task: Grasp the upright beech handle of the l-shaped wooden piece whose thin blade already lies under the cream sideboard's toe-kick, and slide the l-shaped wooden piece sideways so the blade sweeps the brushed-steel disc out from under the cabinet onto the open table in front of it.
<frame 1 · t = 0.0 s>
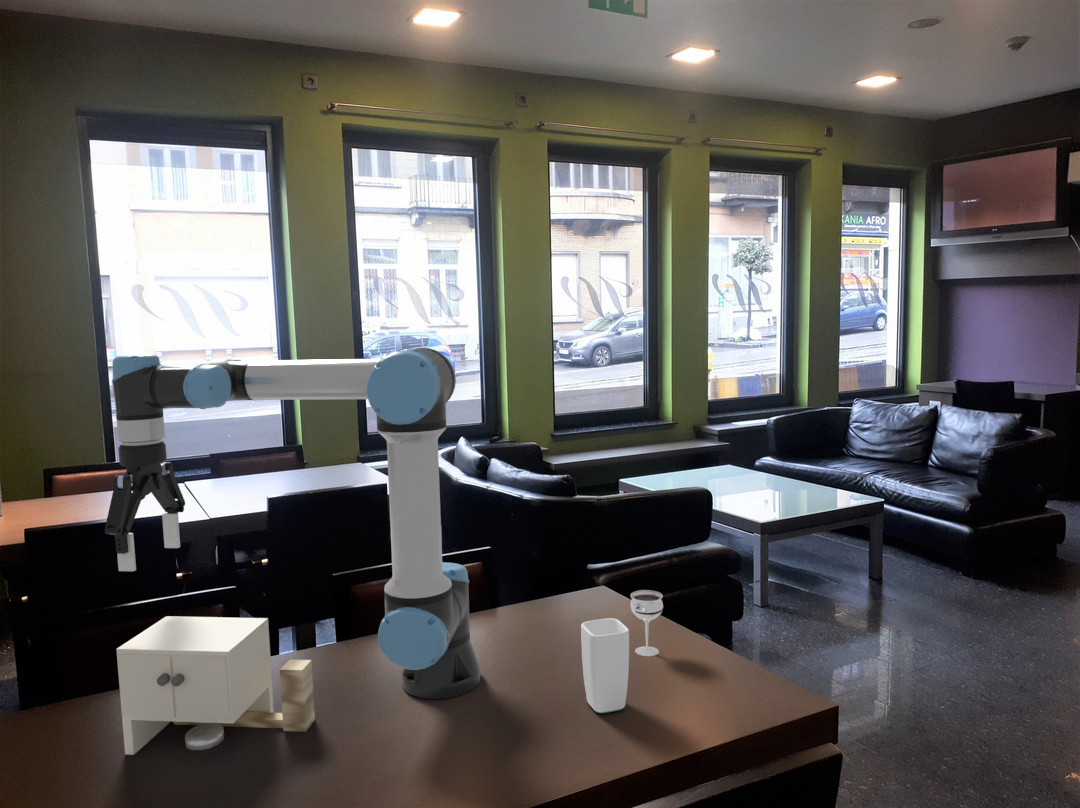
hand: (151, 558, 141), 28 cm above the table, fingers open, 13 cm apart
l-shaped wooden piece: (299, 725, 137), on the table
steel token: (205, 742, 132), on the table
cup: (605, 707, 141), on the table
wineglass: (646, 652, 164), on the table
cabinet: (202, 734, 135), on the table
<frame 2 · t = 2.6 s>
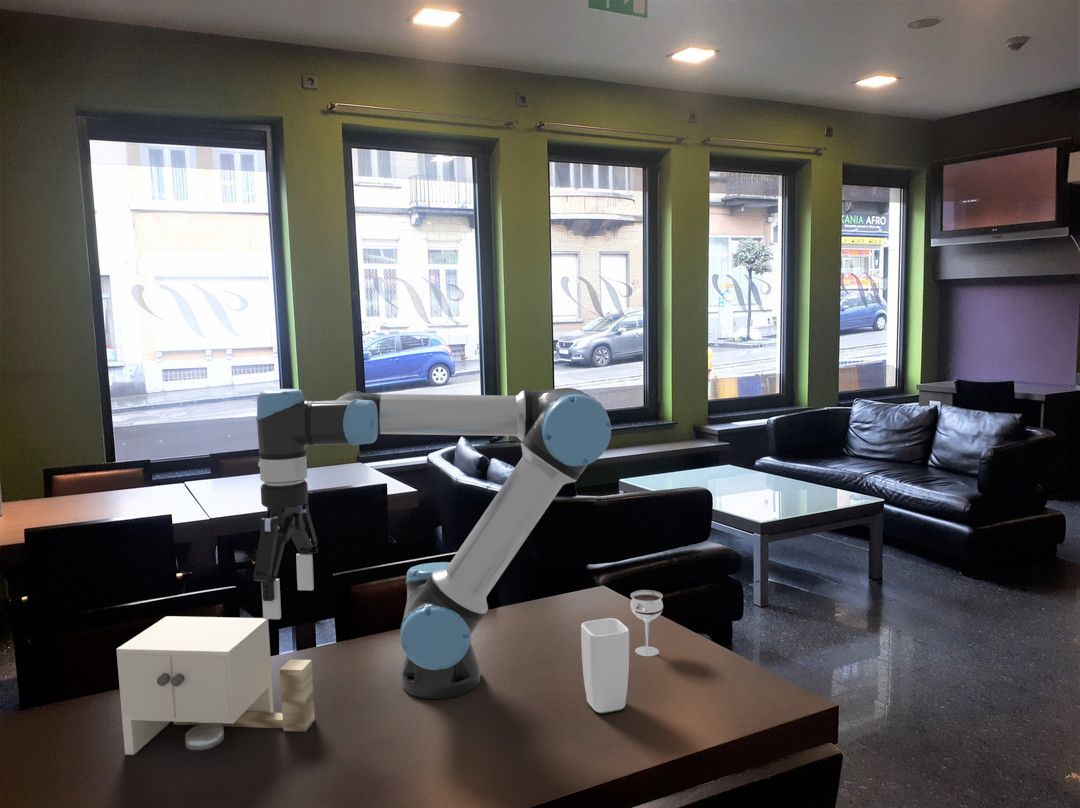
hand: (289, 603, 134), 22 cm above the table, fingers open, 13 cm apart
nothing on the table moved.
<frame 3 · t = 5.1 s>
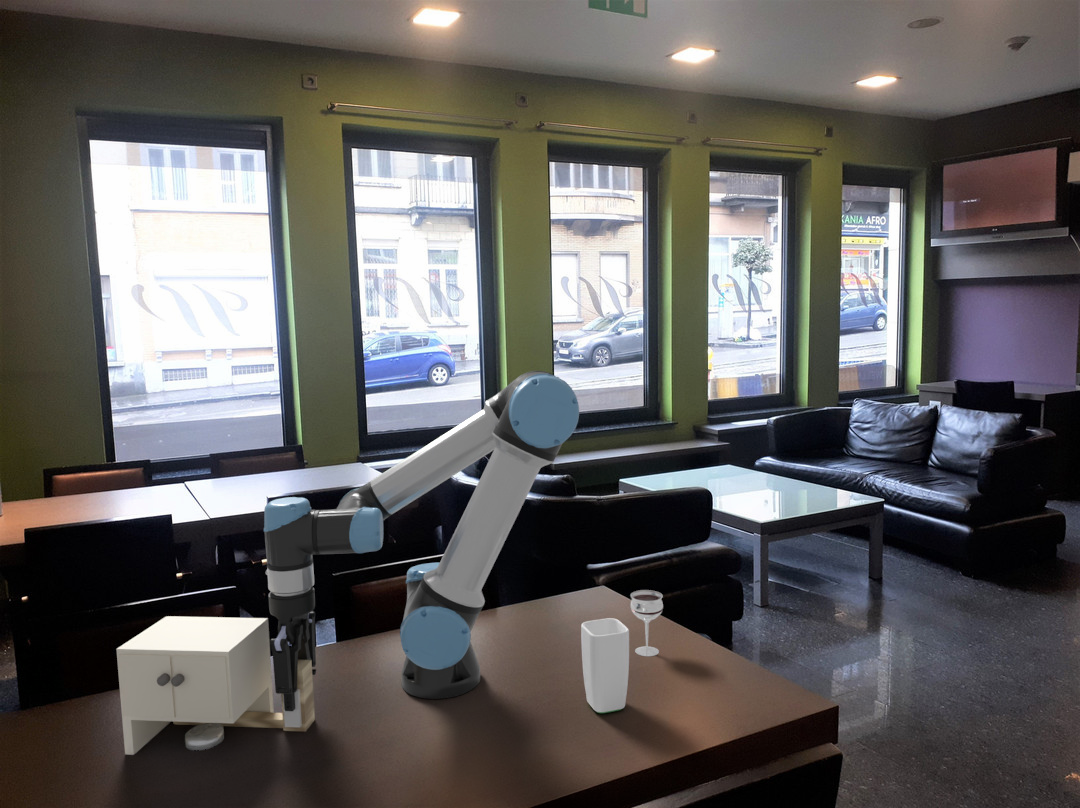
hand: (299, 718, 137), 1 cm above the table, fingers closed on l-shaped wooden piece, 4 cm apart
l-shaped wooden piece: (299, 725, 137), on the table, touching gripper
everything else where it was.
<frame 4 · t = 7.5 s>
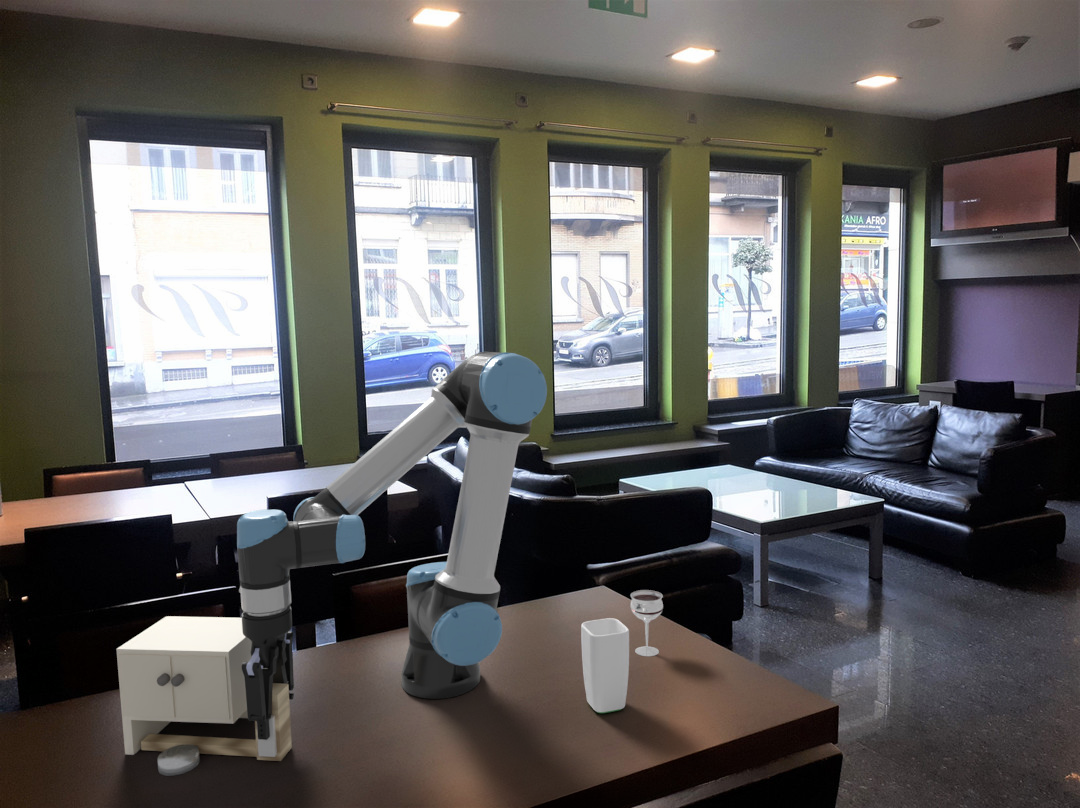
hand: (274, 746, 128), 1 cm above the table, fingers closed on l-shaped wooden piece, 4 cm apart
l-shaped wooden piece: (274, 753, 128), on the table, touching gripper
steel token: (179, 764, 125), on the table
everything else where it was.
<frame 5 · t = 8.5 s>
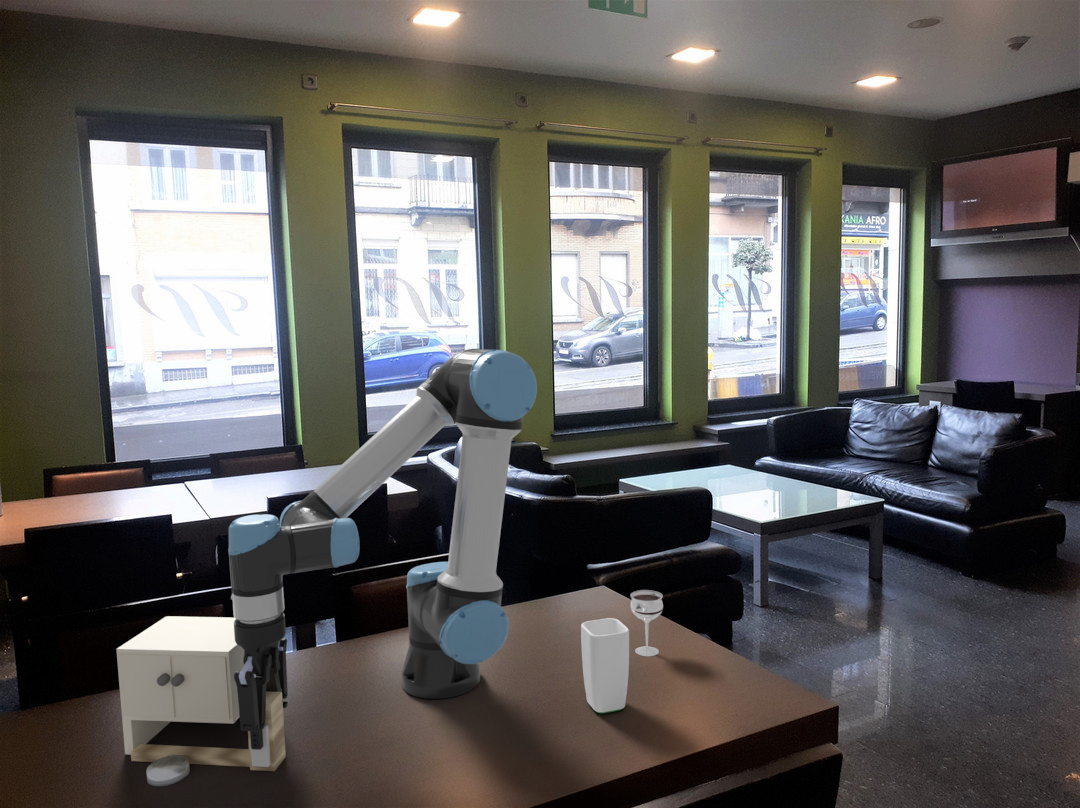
hand: (268, 756, 125), 1 cm above the table, fingers closed on l-shaped wooden piece, 4 cm apart
l-shaped wooden piece: (268, 763, 125), on the table, touching gripper
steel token: (168, 776, 123), on the table
everything else where it was.
when the fingers open (1 cm above the table, at t = 9.4 s): l-shaped wooden piece stays where it is, on the table.
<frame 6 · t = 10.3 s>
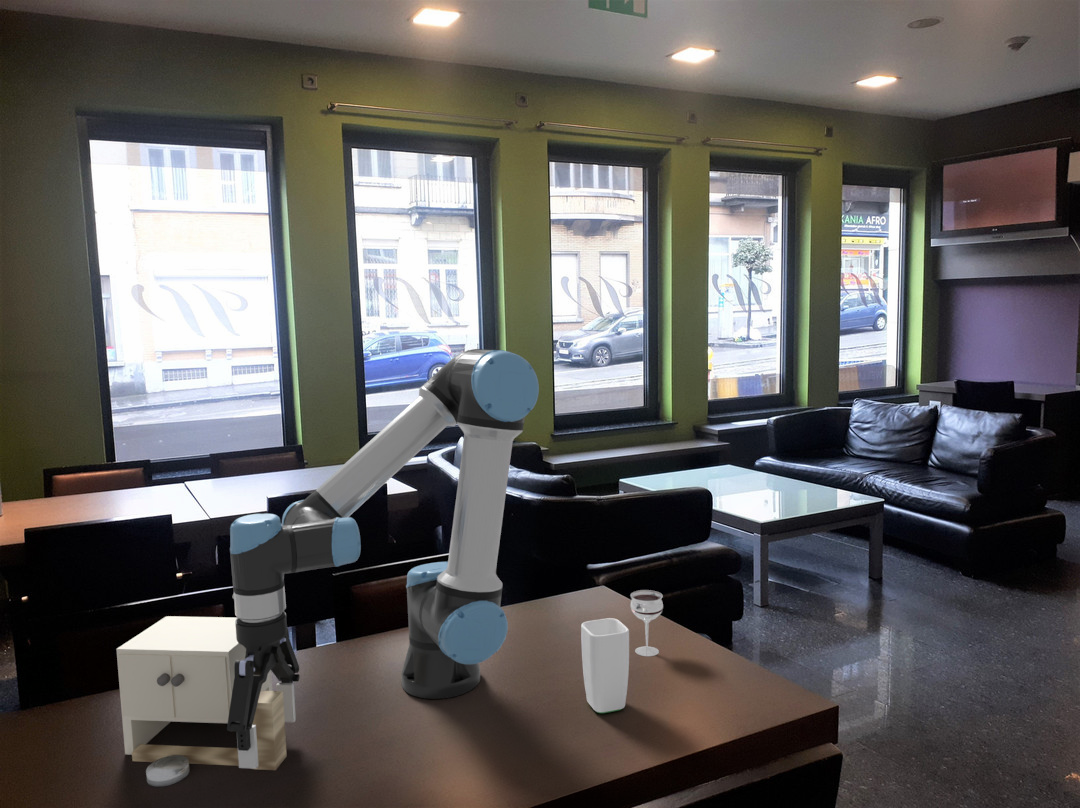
hand: (269, 742, 125), 3 cm above the table, fingers open, 13 cm apart
l-shaped wooden piece: (269, 762, 125), on the table
everything else where it was.
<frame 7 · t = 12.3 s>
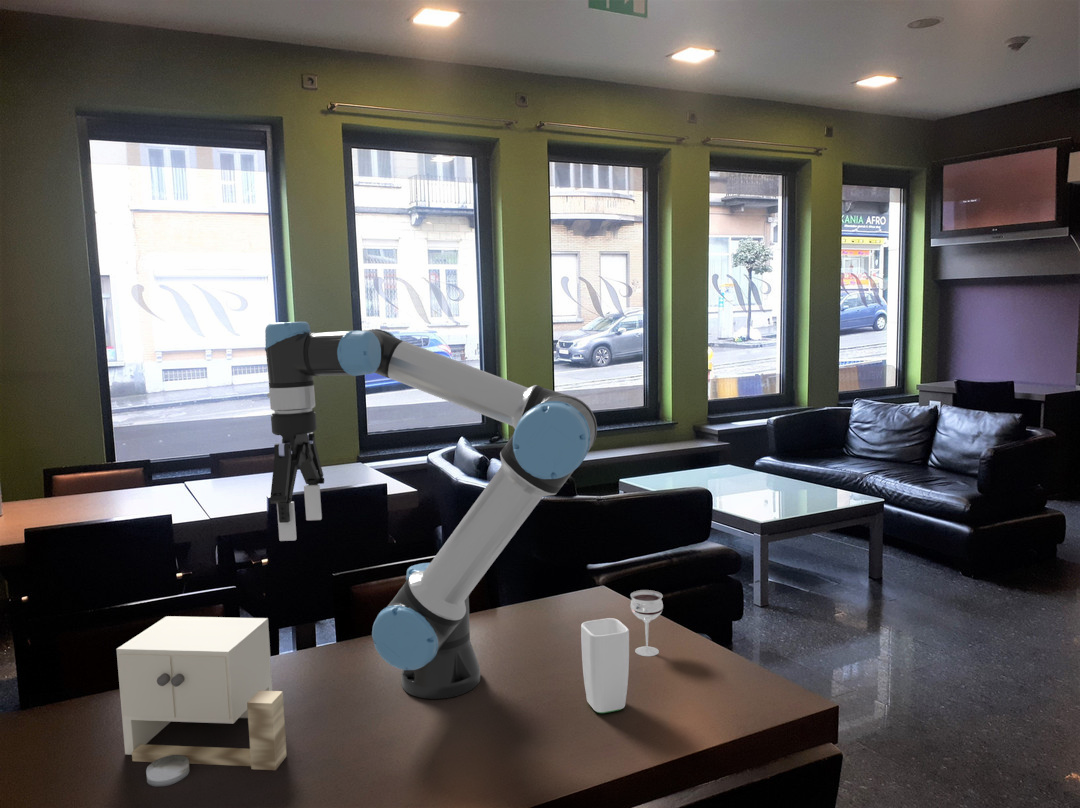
hand: (301, 529, 139), 33 cm above the table, fingers open, 13 cm apart
nothing on the table moved.
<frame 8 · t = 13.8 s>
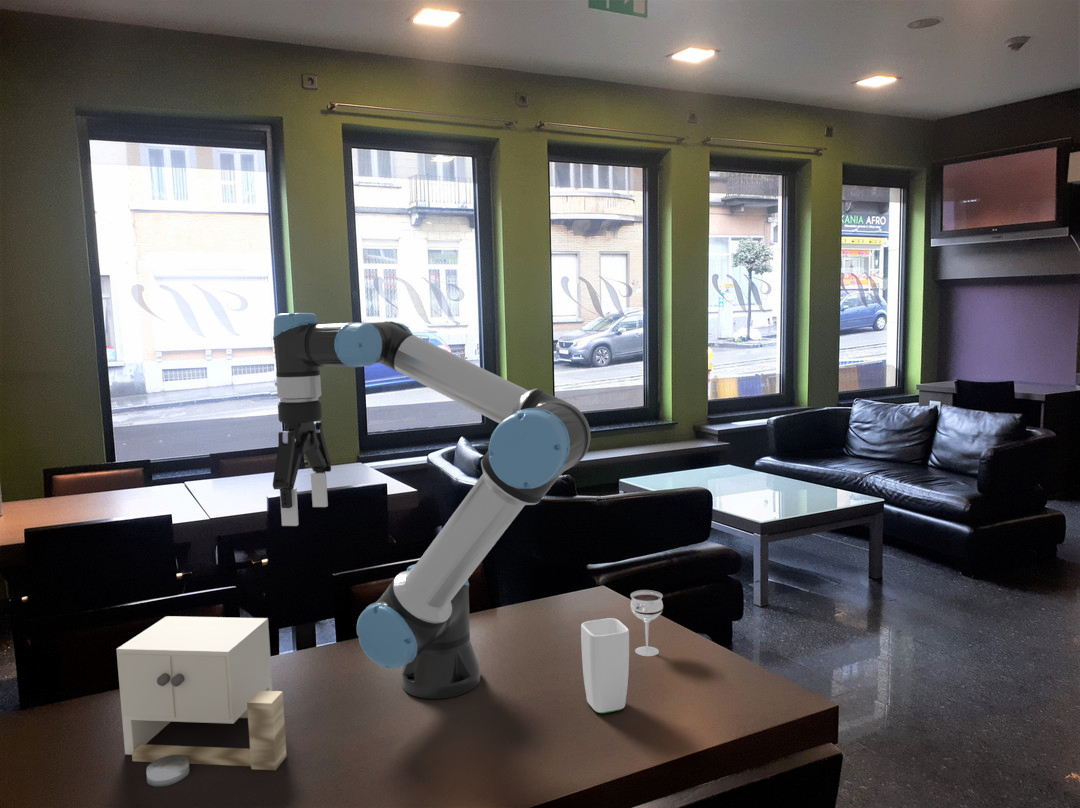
hand: (306, 515, 143), 35 cm above the table, fingers open, 13 cm apart
nothing on the table moved.
at the end: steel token inside the target area (2.6 cm from its centre), on the table; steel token moved 10.1 cm from its start; the gripper is holding nothing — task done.
